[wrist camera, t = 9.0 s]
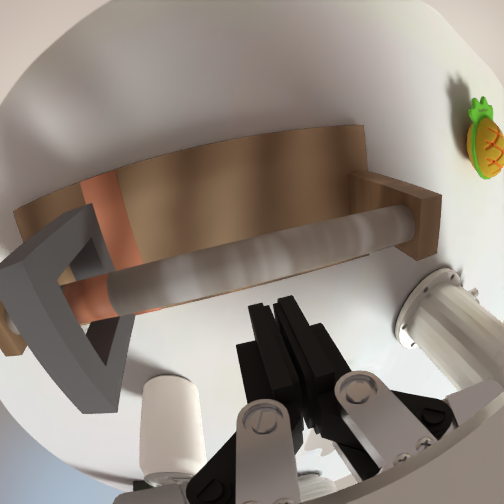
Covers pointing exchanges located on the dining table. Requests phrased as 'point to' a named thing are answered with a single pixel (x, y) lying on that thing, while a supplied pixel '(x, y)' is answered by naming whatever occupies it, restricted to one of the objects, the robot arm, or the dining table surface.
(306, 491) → the vase
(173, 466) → the can
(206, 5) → the dining table surface
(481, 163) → the toy pineapple
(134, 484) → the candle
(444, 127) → the dining table surface
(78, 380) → the collar
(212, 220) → the rail
